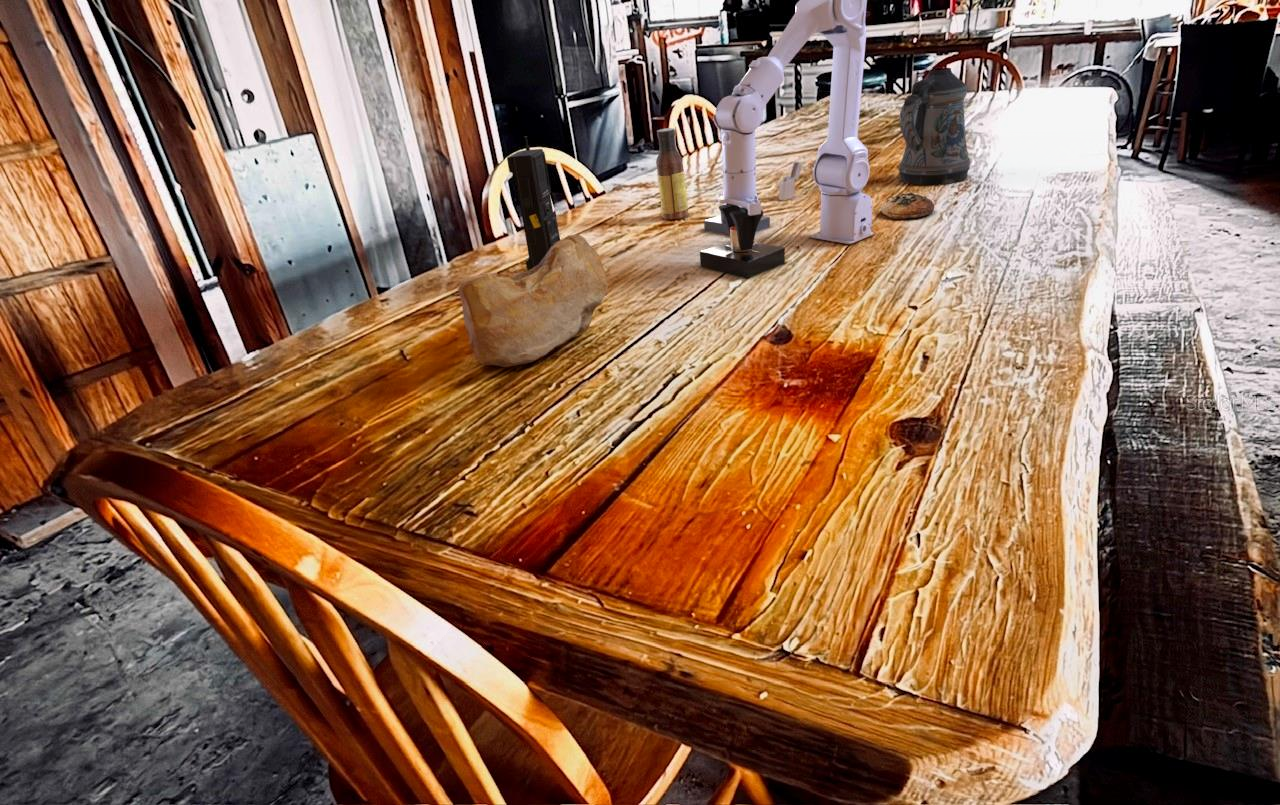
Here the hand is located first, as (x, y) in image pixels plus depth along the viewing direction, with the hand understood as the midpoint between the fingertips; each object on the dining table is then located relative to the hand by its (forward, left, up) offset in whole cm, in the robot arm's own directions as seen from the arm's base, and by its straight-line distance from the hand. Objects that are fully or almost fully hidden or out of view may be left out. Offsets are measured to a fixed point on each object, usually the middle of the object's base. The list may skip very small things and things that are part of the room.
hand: (741, 246), depth 130 cm
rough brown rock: (+2, +45, -4) cm, 45 cm away
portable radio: (+30, +24, -4) cm, 39 cm away
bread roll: (-6, -45, -4) cm, 46 cm away
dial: (0, 0, -1) cm, 1 cm away
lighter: (+26, -46, -4) cm, 53 cm away
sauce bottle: (+38, -18, -4) cm, 42 cm away
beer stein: (+6, -76, -4) cm, 76 cm away
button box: (+18, -18, -4) cm, 26 cm away
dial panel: (0, 0, -4) cm, 4 cm away
